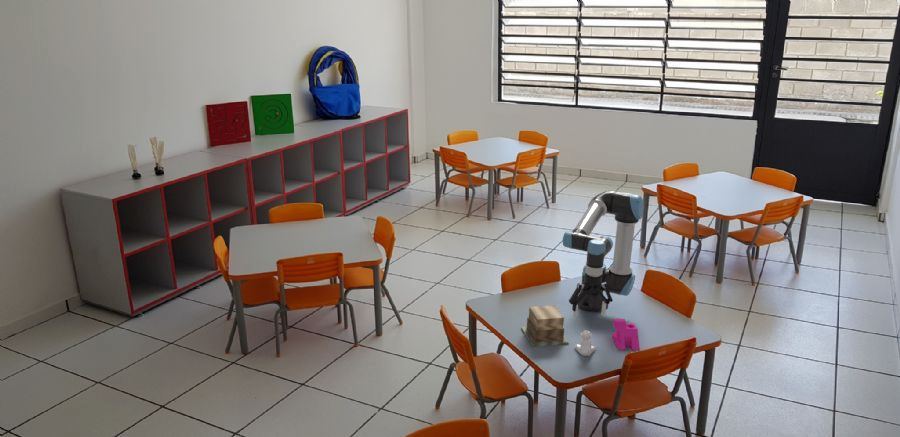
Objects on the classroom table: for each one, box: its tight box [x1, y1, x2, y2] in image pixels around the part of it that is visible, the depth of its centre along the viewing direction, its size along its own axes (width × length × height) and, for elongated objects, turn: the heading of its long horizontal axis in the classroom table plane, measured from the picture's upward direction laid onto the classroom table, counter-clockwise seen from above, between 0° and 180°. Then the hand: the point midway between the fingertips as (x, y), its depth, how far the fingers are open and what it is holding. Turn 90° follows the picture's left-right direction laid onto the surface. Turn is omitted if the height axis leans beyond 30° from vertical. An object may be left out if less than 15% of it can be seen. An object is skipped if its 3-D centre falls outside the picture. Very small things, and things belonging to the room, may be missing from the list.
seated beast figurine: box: [574, 330, 596, 357], centre depth 331 cm, size 10×9×12 cm
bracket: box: [611, 318, 641, 351], centre depth 340 cm, size 12×10×10 cm
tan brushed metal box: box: [521, 304, 570, 348], centre depth 345 cm, size 18×18×13 cm
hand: (589, 316), depth 326 cm, fingers open, 13 cm apart
